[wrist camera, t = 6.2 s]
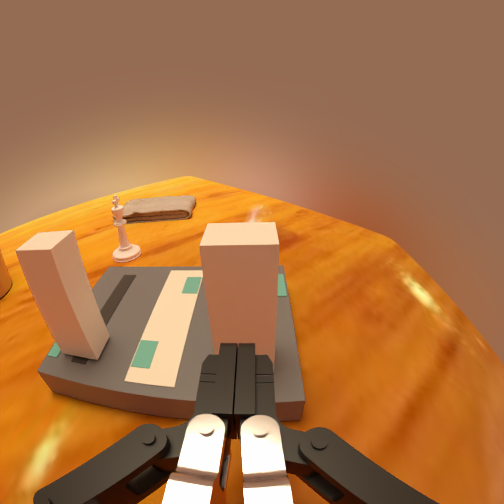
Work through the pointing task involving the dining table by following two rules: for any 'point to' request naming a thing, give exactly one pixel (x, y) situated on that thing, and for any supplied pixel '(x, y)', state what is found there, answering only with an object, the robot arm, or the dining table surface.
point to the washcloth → (158, 209)
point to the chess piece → (123, 237)
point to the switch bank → (163, 346)
